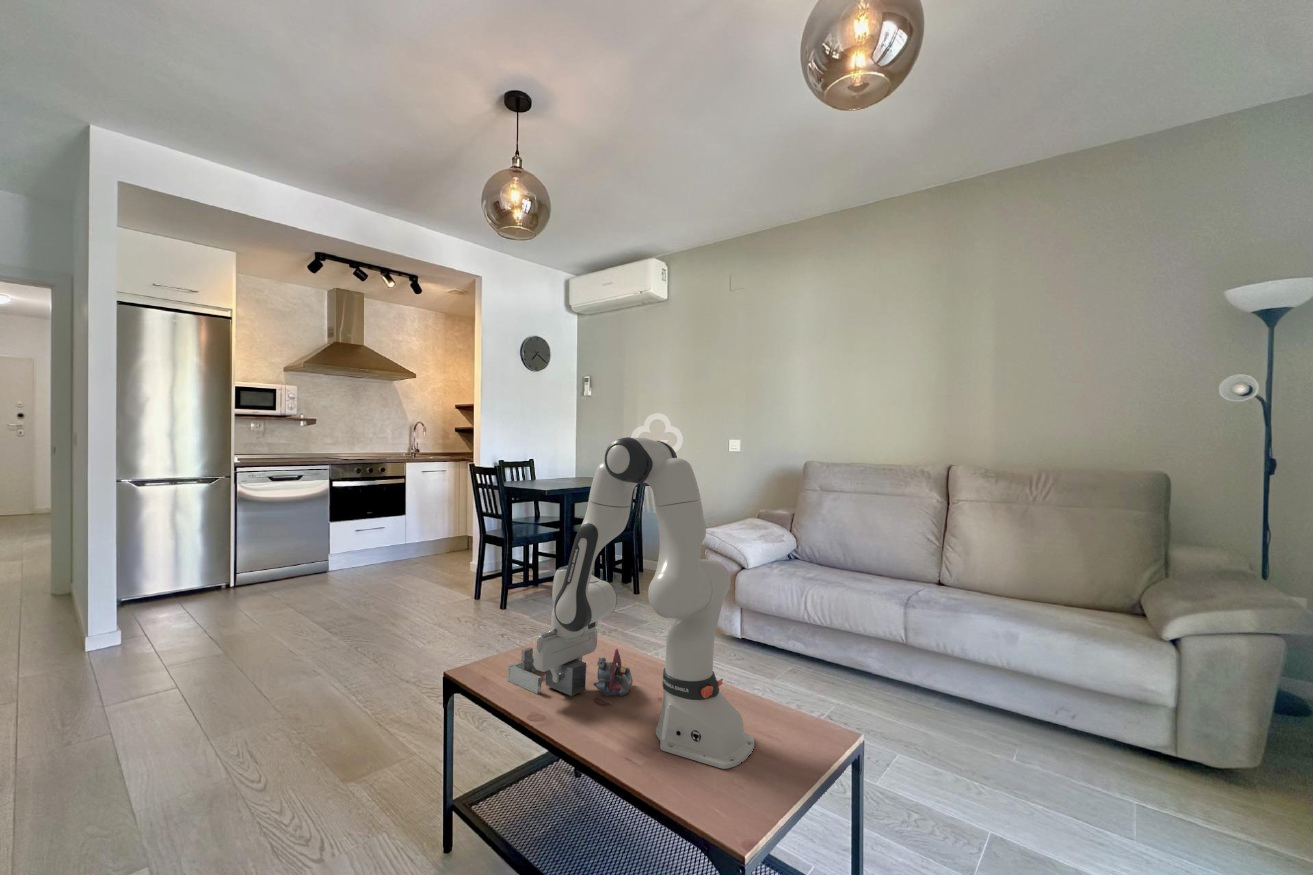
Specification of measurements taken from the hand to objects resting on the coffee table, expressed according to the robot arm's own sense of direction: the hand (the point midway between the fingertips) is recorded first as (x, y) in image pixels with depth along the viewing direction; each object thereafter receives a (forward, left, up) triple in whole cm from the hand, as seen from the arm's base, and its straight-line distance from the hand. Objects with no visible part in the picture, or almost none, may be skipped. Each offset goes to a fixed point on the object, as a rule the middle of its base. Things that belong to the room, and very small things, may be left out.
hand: (565, 677), depth 141 cm
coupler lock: (0, 0, -3) cm, 3 cm away
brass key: (-2, -17, -4) cm, 18 cm away
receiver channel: (+10, 0, -4) cm, 11 cm away
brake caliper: (-9, -9, -4) cm, 13 cm away
